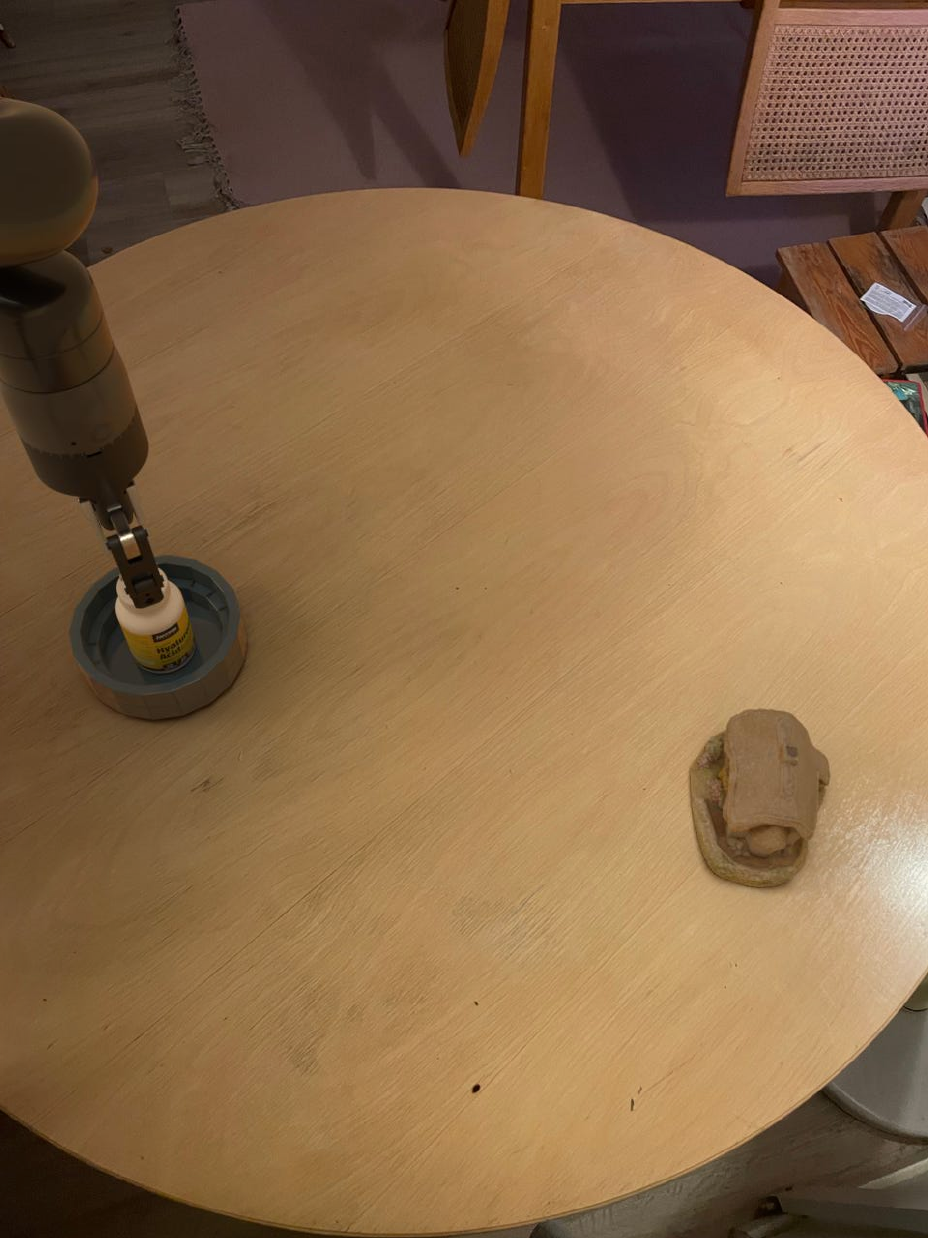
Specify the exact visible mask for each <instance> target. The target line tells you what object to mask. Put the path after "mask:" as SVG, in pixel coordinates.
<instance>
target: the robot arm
mask: <svg viewBox="0 0 928 1238" xmlns="http://www.w3.org/2000/svg"><path fill="white" fill-rule="evenodd" d="M98 175H99V174H98V169H97V165H96V161H95V159H94V155H93V153H92V151H91V149H90V147H89V145H88V144H87V142H86V140H85V139H84V137H83V135H82V134H81V133H80V132H79V130H77V128H76V127H75V126H74V125H73V124H71V122H69V121H68V120H67V119H66V118H64V117H63V116H62V115H61V114H59V113H57V112H55V111H54V110H52V109H51V108H50V109H49V108H48V107H45V106H42V105H39V104H36V103H31V102H27V101H23V100H20V99H19V100H18V99H13V98H8V97H3V96H0V395H1V398H2V401H3V404H4V406H5V408H6V410H7V413H8V414H9V417H10V420H11V421H12V424H13V426H14V428H15V430H16V433H17V435H18V437H19V439H20V441H21V443H22V446H23V448H24V450H25V452H26V454H27V456H28V459H29V461H30V464H31V466H32V467H33V470H34V472H35V474H36V476H37V477H38V479H39V480H40V481H41V482H42V483H43V484H44V485H45V486H46V487H48V488H50V489H51V490H52V491H55V492H56V493H59V494H62V495H65V496H70V497H76V499H77V502H78V504H79V506H80V509H81V512H82V514H83V516H84V518H85V519H86V520H87V521H88V522H90V524H91V525H92V528H93V530H94V533H95V535H96V538H97V540H98V543H99V545H100V548H101V550H102V553H103V554H104V555H105V556H106V557H109V558H113V559H114V562H115V565H116V568H117V567H118V570H119V572H120V574H119V578H120V580H121V581H123V582H124V584H125V586H126V588H124V590H125V592H126V595H128V594H129V596H130V599H132V601H133V603H134V606H135V607H136V608H137V609H141V608H142V609H143V608H146V607H149V606H151V605H154V604H157V603H160V601H162V600H163V599H164V595H163V592H162V589H161V588H162V587H164V584H163V582H164V578H163V576H162V575H160V573H159V570H158V566H157V563H156V561H155V558H154V557H155V556H154V553H153V550H152V547H151V544H150V543H151V542H152V540H153V536H152V533H151V531H150V529H149V526H148V523H147V521H146V518H145V516H144V512H143V510H142V507H141V503H142V498H141V494H140V492H139V489H138V487H137V484H136V482H135V480H134V479H135V478H136V477H137V476H138V475H139V473H140V472H141V471H142V469H143V468H144V466H145V464H146V463H147V462H146V461H147V459H148V456H149V449H150V448H149V447H150V446H149V439H148V436H147V432H146V430H145V427H144V426H145V425H144V423H143V419H142V416H141V414H140V410H139V407H138V403H137V400H136V397H135V394H134V391H133V387H132V384H131V381H130V377H129V374H128V371H127V368H126V365H125V362H124V361H123V359H122V357H121V355H120V354H121V353H120V352H119V350H118V349H117V347H116V345H115V342H114V340H113V336H112V334H111V333H112V332H111V331H110V326H109V323H108V320H107V317H106V314H105V311H104V308H103V304H102V301H101V298H100V296H99V292H98V289H97V286H96V284H95V282H94V279H93V277H92V275H91V273H90V272H89V270H88V268H87V267H86V266H85V265H84V264H83V262H82V261H81V260H80V259H78V258H77V257H76V256H75V255H73V254H72V253H70V252H68V251H66V249H68V247H70V246H71V245H72V244H73V243H74V242H75V241H77V240H78V239H79V237H80V236H81V235H82V234H83V232H84V231H85V230H86V228H87V227H88V225H89V223H90V221H91V219H92V218H93V215H94V212H95V210H96V209H95V208H96V206H97V201H98V195H99V176H98ZM134 517H135V521H136V522H137V526H135V527H132V528H131V524H132V523H133V521H134ZM103 529H104V530H106V531H109V532H113V531H115V533H114V534H112V535H108V536H106V535H105V532H104V530H103Z"/></svg>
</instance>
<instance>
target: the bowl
mask: <svg viewBox="0 0 928 1238" xmlns="http://www.w3.org/2000/svg"><path fill="white" fill-rule="evenodd" d="M154 558H155V561H156V563H157V566H158V568H160V569H161V570H162V571H163V572H164V573H165V575H166V577H167V579H168V581H170V582H172V583H173V584H174V585H175V586H176V587H177V588H178V589H179V591H180V592H181V595H182V597H183V600H184V603H185V607H186V610H187V613H188V616H189V620H190V623H191V626H192V629H193V633H194V636H195V642H196V646H195V651H194V654H193V656H192V658H191V659H190V660H189V662H188V663H187V664H186V665H184V666H183V667H182V668H180V669H178V670H176V671H174V672H171V673H165V674H157V673H152V672H149V671H146V670H144V669H143V668H141V667H140V666H139V665H138V664H137V663H136V661H135V659H134V657H133V655H132V653H131V650H130V648H129V645H128V643H127V641H126V638H125V636H124V633H123V631H122V628H121V626H120V624H119V621H118V619H117V616H116V611H115V604H116V600H117V597H118V594H117V590H116V585H117V582H118V579H119V574H120V572H119V570H118V567H117V566H116V567H114V568H113V569H111V570H109V571H108V572H107V573H106V574H104V575H103V576H102V577H100V578H99V579H98V580H97V581H95V582H94V583H92V584H91V585H90V586H89V588H87V590H86V592H85V593H84V595H83V597H82V598H81V599H80V601H79V602H78V604H77V605H76V607H75V608H74V611H73V614H72V619H71V623H70V627H69V630H68V631H69V632H68V636H69V640H70V641H69V642H70V645H71V650H72V656H73V659H74V661H75V662H76V664H77V666H78V668H79V670H80V672H81V673H82V675H83V677H84V679H85V681H86V683H87V685H88V686H89V687H90V688H91V690H92V692H93V693H94V694H95V695H96V697H97V698H98V699H99V700H100V702H102V704H105V705H107V706H108V707H109V708H112V709H113V710H115V711H117V712H118V713H121V714H122V715H125V716H129V717H135V718H140V719H147V720H162V719H169V718H175V717H176V718H177V717H183V716H186V715H187V714H189V713H192V712H194V711H196V710H198V709H201V708H202V707H203V708H204V707H205V706H207V705H209V704H211V703H212V702H213V701H214V700H216V699H217V698H218V697H219V696H220V695H221V694H222V693H223V692H225V691H226V690H227V689H228V688H229V687H230V686H231V685H232V684H233V682H234V680H235V678H236V676H237V675H238V673H239V672H240V669H241V668H242V666H243V664H244V662H245V656H246V648H247V641H248V635H247V631H246V627H245V623H244V620H243V615H242V612H241V609H240V605H239V601H238V599H237V598H238V597H237V595H236V591H235V589H234V588H233V587H232V586H231V584H230V583H229V582H228V581H227V579H226V578H225V577H224V576H223V574H221V573H220V571H218V570H217V569H215V568H213V567H211V566H209V565H207V564H205V563H203V562H201V561H199V560H197V559H195V558H190V557H183V556H177V555H170V554H166V555H165V554H164V555H157V556H154Z"/></svg>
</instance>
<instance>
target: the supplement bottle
mask: <svg viewBox="0 0 928 1238" xmlns="http://www.w3.org/2000/svg"><path fill="white" fill-rule="evenodd" d="M158 570H159V573H160V575H162V576H163V578H164V582H163V584H164V587H162V588H161V589H162V592H163V595H164V599H163V600H162V601H160V603H157V604H154V605H151V606H149V607H146V608H143V609H142V608H141V609H137V608H136V607H135V606H134V603H133V601H132V599H130V596H129V594H128V595H126V592H125V590H124V588H126V586H125V584H124V582H123V581H121V580H120V578H119V579H118V582H117V585H116V590H117V594H118V597H117V600H116V604H115V611H116V616H117V619H118V621H119V624H120V626H121V628H122V631H123V633H124V636H125V638H126V641H127V643H128V645H129V648H130V650H131V653H132V655H133V657H134V659H135V661H136V663H137V664H138V665H139V666H140V667H141V668H143V669H144V670H146V671H149V672H152V673H157V674H165V673H171V672H174V671H176V670H178V669H180V668H182V667H183V666H184V665H186V664H187V663H188V662H189V660H190V659H191V658H192V656H193V654H194V651H195V646H196V642H195V636H194V633H193V629H192V626H191V623H190V620H189V616H188V613H187V610H186V607H185V603H184V600H183V597H182V595H181V592H180V591H179V589H178V588H177V587H176V586H175V585H174V584H173V583H172V582H170V581H168V579H167V577H166V575H165V573H164V572H163V571H162V570H161V569H160V568H158Z"/></svg>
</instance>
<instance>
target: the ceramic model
mask: <svg viewBox="0 0 928 1238" xmlns="http://www.w3.org/2000/svg"><path fill="white" fill-rule="evenodd" d="M689 769H690V770H689V771H690V774H689V775H690V790H691V791H690V792H691V807H692V813H693V820H694V826H695V832H696V837H697V839H698V844H699V849H700V851H701V853H702V855H703V857H704V859H705V862H706V863H707V865H708V867H709V868H710V870H711V871H712V872H713V873H715V875H717V876H718V877H720V878H722V879H725V880H727V881H731V882H734V883H736V884H741V885H745V886H748V887H749V886H750V887H756V888H764V887H773V886H778V885H782V884H784V883H786V882H788V881H790V880H791V879H792V880H793V879H795V876H796V875H797V873H798V872H800V870H801V869H802V867H804V865H805V863H806V861H807V858H808V855H809V851H810V849H809V848H810V846H809V845H810V840H811V839H812V837H813V836H814V833H815V829H816V827H817V820H818V819H817V818H818V813H819V810H820V807H821V805H822V804H823V802H824V797H825V795H826V792H827V789H826V787H828V786H829V785H830V780H831V777H832V776H831V769H830V762H829V759H828V758H827V756H826V754H824V753H823V752H822V751H821V750H819V749H817V748H816V747H815V746H814V745H813V743H812V740H811V737H810V734H809V731H808V729H807V728H806V727H805V725H804V724H803V723H801V721H800V720H799V719H798V718H797V717H796V716H795V715H794V714H792V713H791V712H788V711H785V710H779V709H773V708H769V709H768V708H757V709H755V708H748V709H745V710H742V711H740V712H739V713H736V714H734V715H733V716H730V717H729V719H728V721H727V723H726V726H725V729H724V730H723V731H721V732H719V733H718V734H715V735H712V736H711V737H709V739H708V740H707V741H706V742H705V743H704V746H703V748H702V750H701V751H700V752H699V754H698V755H697V757H696V758H695V759H694V761H693V762H692V764H691V766H690V768H689Z"/></svg>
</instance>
